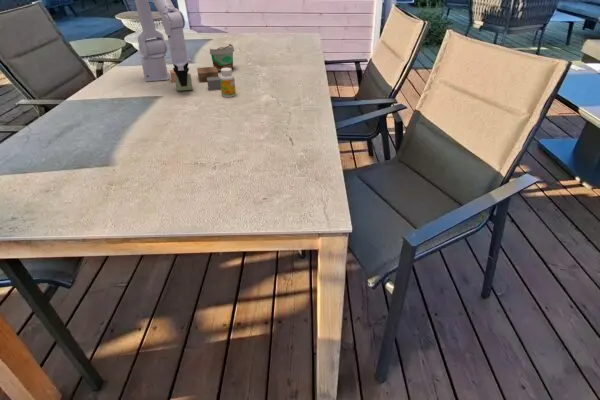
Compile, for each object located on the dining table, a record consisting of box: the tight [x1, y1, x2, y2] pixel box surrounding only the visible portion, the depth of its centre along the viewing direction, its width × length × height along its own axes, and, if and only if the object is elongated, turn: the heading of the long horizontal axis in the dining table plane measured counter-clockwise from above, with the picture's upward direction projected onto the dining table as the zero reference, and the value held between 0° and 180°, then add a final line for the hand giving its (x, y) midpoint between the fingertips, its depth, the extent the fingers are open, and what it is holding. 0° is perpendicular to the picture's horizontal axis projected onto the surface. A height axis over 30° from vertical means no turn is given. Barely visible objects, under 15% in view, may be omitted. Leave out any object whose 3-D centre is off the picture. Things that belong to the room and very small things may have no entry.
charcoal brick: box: [206, 76, 221, 91], centre depth 150 cm, size 6×4×4 cm, turn 104°
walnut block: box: [196, 66, 219, 83], centre depth 160 cm, size 8×8×4 cm
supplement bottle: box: [219, 68, 237, 98], centre depth 142 cm, size 5×5×10 cm
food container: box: [209, 43, 235, 73], centre depth 168 cm, size 12×6×10 cm, turn 143°
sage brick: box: [174, 73, 194, 92], centre depth 147 cm, size 6×4×5 cm, turn 106°
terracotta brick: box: [169, 69, 176, 83], centre depth 158 cm, size 6×4×4 cm, turn 108°
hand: (184, 84), depth 148 cm, fingers closed on sage brick, 4 cm apart
